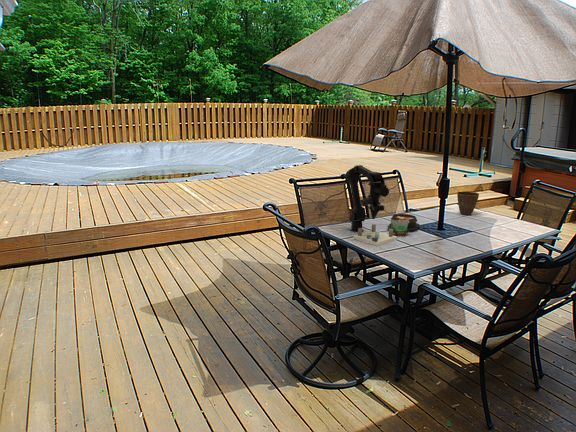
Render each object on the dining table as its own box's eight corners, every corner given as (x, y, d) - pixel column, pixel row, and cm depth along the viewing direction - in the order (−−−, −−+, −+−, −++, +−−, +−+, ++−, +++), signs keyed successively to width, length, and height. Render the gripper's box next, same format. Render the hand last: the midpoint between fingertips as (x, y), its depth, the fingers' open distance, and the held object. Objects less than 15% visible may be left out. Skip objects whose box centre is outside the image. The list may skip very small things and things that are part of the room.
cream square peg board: (353, 238, 262) (353, 228, 260) (372, 233, 273) (373, 223, 271) (377, 245, 248) (378, 235, 246) (396, 239, 259) (397, 229, 258)
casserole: (404, 235, 269) (405, 222, 267) (380, 229, 282) (380, 216, 280) (426, 228, 284) (427, 215, 282) (402, 222, 298) (403, 210, 296)
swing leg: (365, 237, 256) (365, 229, 255) (368, 236, 257) (369, 228, 256) (376, 241, 249) (377, 233, 248) (379, 240, 251) (380, 232, 250)
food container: (394, 237, 264) (395, 221, 262) (389, 234, 270) (390, 219, 267) (412, 235, 267) (413, 220, 265) (407, 233, 273) (408, 217, 271)
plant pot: (480, 216, 314) (483, 195, 310) (461, 217, 312) (464, 195, 308) (469, 211, 329) (472, 191, 325) (451, 212, 327) (453, 191, 323)
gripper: (356, 191, 264) (355, 215, 268) (367, 197, 246) (365, 223, 250) (373, 190, 266) (372, 214, 270) (385, 196, 248) (383, 222, 252)
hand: (373, 218), depth 260 cm, fingers closed
